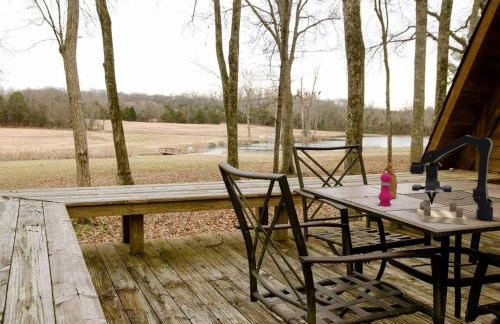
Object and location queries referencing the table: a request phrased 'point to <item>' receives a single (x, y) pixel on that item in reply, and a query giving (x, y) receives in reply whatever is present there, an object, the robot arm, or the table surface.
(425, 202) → the hinged leg
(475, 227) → the table surface
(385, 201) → the pepper mill
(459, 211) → the stool seat
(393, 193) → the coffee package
